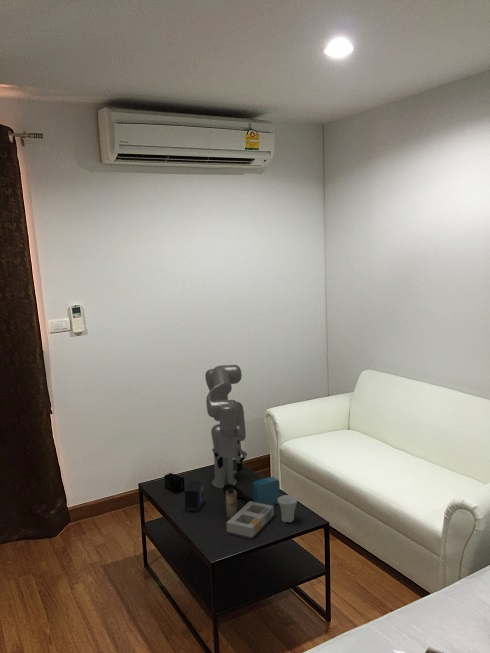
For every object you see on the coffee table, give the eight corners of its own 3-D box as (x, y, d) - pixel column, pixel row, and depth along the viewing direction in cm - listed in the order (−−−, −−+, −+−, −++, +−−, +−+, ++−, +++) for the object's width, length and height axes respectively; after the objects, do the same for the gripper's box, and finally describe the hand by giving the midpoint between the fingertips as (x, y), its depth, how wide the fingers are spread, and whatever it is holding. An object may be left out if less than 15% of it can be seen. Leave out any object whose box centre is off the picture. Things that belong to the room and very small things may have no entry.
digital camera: (162, 489, 273) (162, 476, 272) (171, 485, 277) (170, 472, 276) (176, 494, 266) (175, 481, 265) (184, 490, 270) (183, 477, 269)
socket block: (250, 511, 246) (249, 500, 245) (274, 516, 240) (273, 505, 239) (226, 533, 227) (226, 521, 226) (252, 539, 221) (252, 527, 220)
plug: (229, 511, 246) (228, 486, 244) (239, 513, 244) (238, 488, 242) (224, 516, 242) (223, 490, 240) (234, 518, 239) (233, 492, 238)
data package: (275, 499, 257) (274, 475, 255) (280, 503, 253) (279, 479, 251) (253, 505, 251) (252, 481, 249) (258, 509, 247) (257, 485, 245)
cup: (273, 518, 238) (273, 497, 237) (292, 513, 242) (291, 492, 241) (283, 527, 230) (282, 505, 229) (302, 522, 234) (301, 500, 233)
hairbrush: (249, 504, 247) (219, 484, 267) (249, 512, 248) (219, 491, 267) (263, 499, 252) (232, 480, 272) (263, 506, 253) (232, 487, 272)
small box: (198, 512, 246) (197, 491, 245) (184, 511, 248) (183, 490, 246) (204, 502, 257) (203, 481, 255) (191, 501, 258) (190, 480, 256)
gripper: (249, 432, 237) (250, 469, 239) (216, 427, 245) (217, 463, 247) (241, 437, 230) (243, 475, 232) (207, 432, 238) (209, 469, 240)
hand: (230, 469), depth 240 cm, fingers open, 9 cm apart
